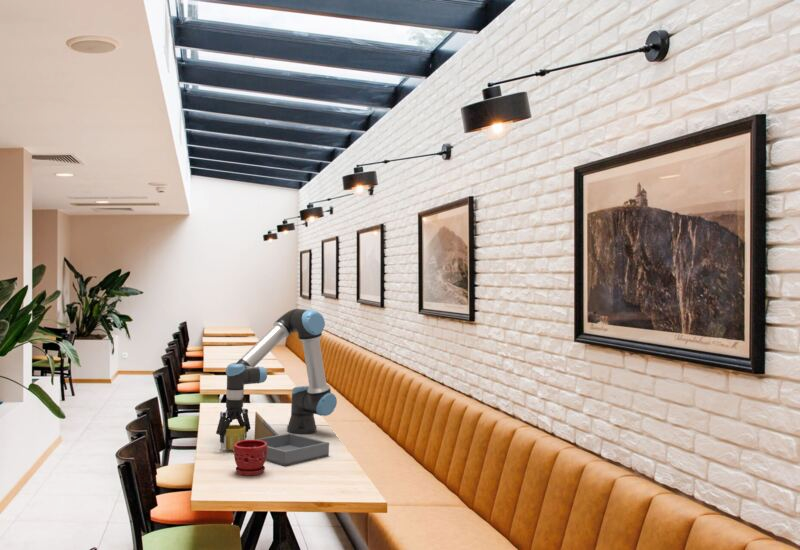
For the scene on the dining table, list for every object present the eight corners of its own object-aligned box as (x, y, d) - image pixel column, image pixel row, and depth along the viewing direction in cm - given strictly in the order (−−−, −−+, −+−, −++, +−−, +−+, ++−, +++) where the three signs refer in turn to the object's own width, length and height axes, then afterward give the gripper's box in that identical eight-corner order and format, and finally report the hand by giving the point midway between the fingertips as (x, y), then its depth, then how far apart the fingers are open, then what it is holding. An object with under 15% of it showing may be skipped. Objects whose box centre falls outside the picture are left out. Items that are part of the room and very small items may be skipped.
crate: (288, 445, 336) (289, 433, 336) (328, 456, 319) (329, 442, 320) (244, 454, 316) (245, 441, 316) (284, 466, 299) (285, 451, 299)
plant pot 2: (237, 467, 294) (238, 438, 294) (269, 469, 294) (270, 440, 294) (228, 476, 281) (230, 445, 281) (262, 478, 281) (263, 447, 281)
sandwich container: (287, 446, 335) (288, 414, 335) (254, 446, 332) (255, 414, 332) (286, 442, 343) (288, 411, 343) (254, 442, 340) (255, 411, 340)
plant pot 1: (223, 445, 328) (224, 424, 328) (246, 445, 328) (246, 424, 328) (219, 451, 317) (220, 429, 317) (243, 451, 318) (243, 429, 318)
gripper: (249, 394, 334) (247, 442, 334) (208, 400, 316) (207, 450, 316) (259, 396, 329) (258, 445, 329) (219, 402, 312) (217, 453, 312)
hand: (233, 447), depth 323 cm, fingers closed on plant pot 1, 10 cm apart
